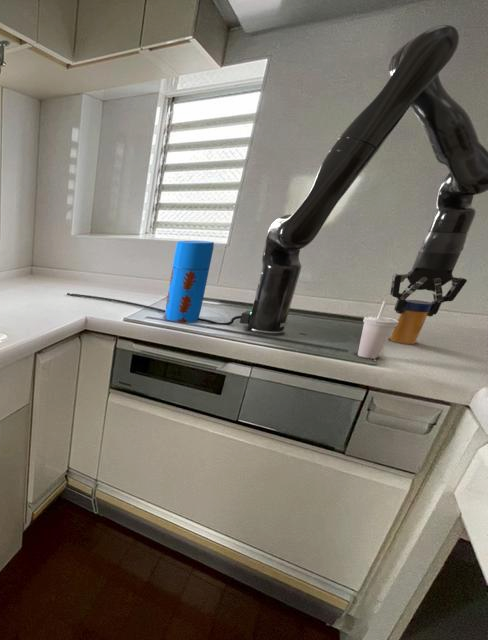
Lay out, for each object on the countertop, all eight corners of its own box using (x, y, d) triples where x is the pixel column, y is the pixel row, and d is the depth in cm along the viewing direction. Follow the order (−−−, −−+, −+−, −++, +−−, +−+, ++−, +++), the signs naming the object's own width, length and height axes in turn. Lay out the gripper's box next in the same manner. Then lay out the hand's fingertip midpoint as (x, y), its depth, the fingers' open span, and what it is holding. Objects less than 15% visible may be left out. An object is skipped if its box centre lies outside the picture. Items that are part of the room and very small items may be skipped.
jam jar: (392, 342, 113) (407, 304, 108) (387, 337, 117) (402, 300, 112) (417, 345, 110) (434, 306, 106) (412, 340, 114) (428, 302, 110)
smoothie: (350, 350, 106) (370, 297, 101) (383, 355, 103) (405, 301, 97) (351, 356, 102) (371, 302, 96) (385, 362, 98) (408, 305, 93)
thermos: (164, 321, 134) (178, 242, 125) (163, 313, 144) (175, 240, 134) (200, 323, 131) (217, 243, 121) (197, 316, 140) (212, 241, 131)
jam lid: (404, 310, 109) (407, 302, 108) (398, 306, 113) (401, 298, 113) (433, 312, 106) (436, 305, 105) (426, 308, 111) (429, 301, 110)
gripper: (473, 250, 103) (445, 314, 110) (398, 248, 110) (375, 308, 117) (486, 253, 97) (455, 321, 104) (406, 250, 104) (382, 314, 111)
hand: (413, 314), depth 110 cm, fingers closed on jam lid, 5 cm apart
